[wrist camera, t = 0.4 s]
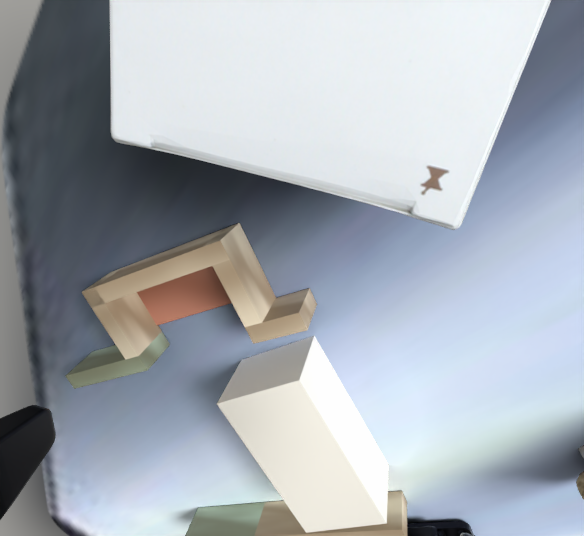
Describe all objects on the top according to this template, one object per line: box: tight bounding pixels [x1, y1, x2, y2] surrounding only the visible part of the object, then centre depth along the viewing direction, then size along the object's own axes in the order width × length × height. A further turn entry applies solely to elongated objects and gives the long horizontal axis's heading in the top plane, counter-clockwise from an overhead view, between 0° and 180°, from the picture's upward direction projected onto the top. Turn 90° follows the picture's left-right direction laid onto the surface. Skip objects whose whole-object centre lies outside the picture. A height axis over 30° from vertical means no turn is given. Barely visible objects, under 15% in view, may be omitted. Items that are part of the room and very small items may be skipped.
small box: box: [110, 0, 551, 230], centre depth 12 cm, size 8×6×10 cm
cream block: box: [217, 336, 389, 533], centre depth 23 cm, size 10×5×4 cm, turn 29°
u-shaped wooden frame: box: [66, 223, 407, 536], centre depth 25 cm, size 20×16×2 cm
